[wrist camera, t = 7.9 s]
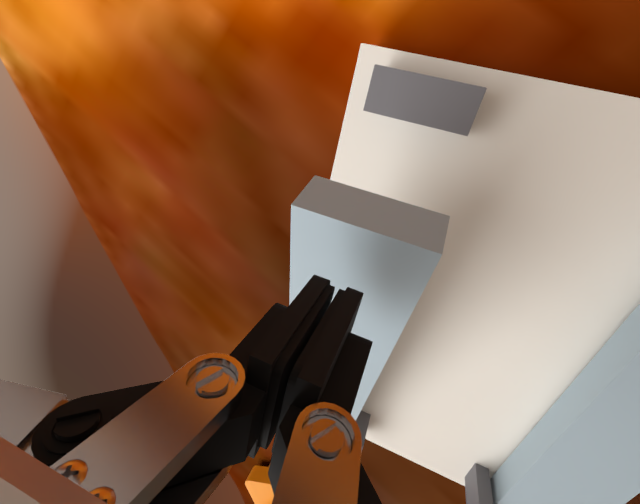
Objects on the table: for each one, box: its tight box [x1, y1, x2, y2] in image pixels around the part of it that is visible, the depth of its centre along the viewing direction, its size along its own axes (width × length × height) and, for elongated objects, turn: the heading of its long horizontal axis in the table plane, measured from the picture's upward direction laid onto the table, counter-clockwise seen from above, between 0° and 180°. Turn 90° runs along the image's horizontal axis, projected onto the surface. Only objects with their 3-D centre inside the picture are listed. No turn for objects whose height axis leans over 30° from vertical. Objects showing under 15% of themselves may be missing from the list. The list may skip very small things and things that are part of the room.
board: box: [330, 43, 640, 504], centre depth 20 cm, size 28×24×6 cm
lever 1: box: [289, 175, 450, 421], centre depth 19 cm, size 22×5×2 cm, turn 169°
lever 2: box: [490, 304, 640, 504], centre depth 18 cm, size 22×5×2 cm, turn 168°
